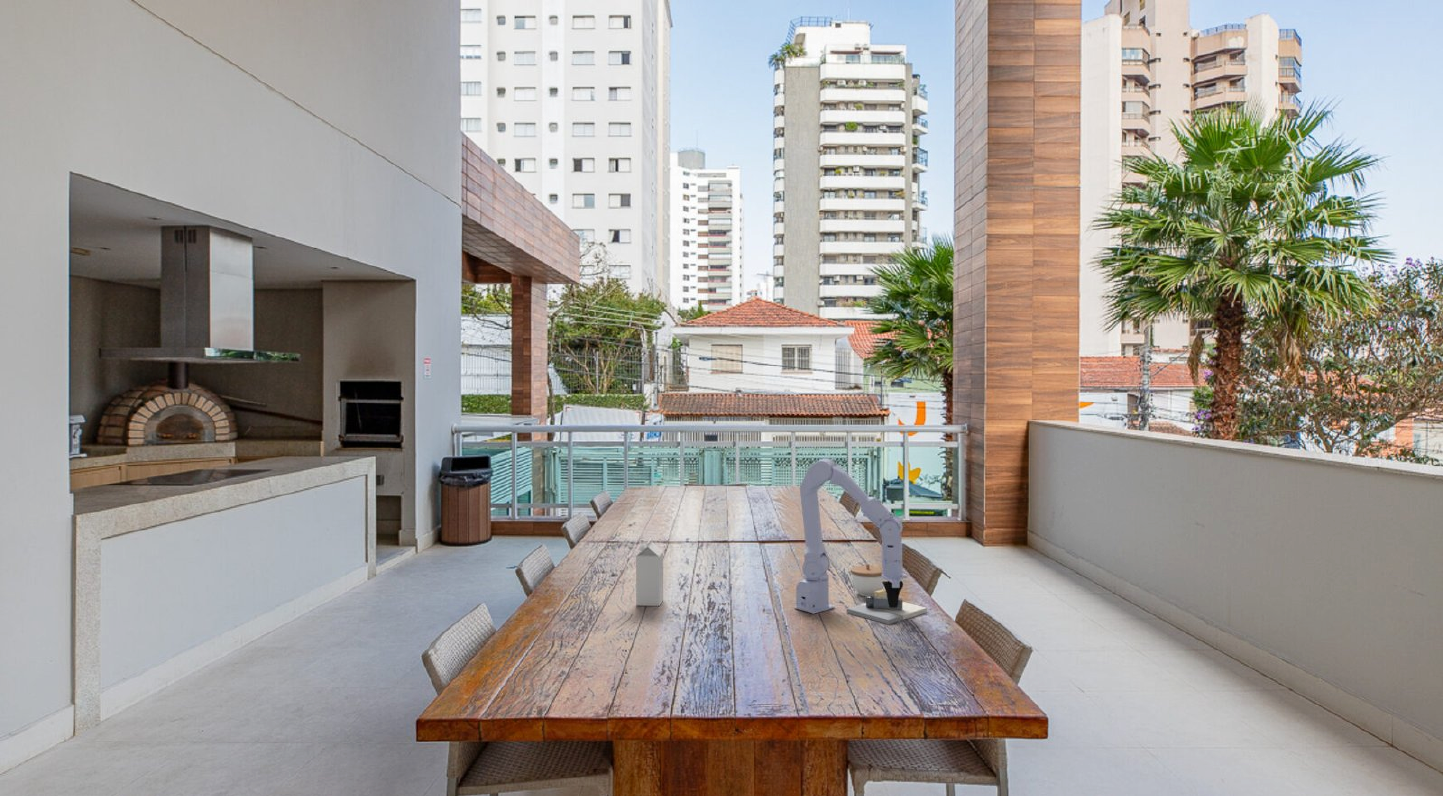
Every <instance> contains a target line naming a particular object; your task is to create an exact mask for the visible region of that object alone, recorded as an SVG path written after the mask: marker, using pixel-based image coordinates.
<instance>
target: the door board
mask: <svg viewBox="0 0 1443 796" xmlns="http://www.w3.org/2000/svg"><path fill="white" fill-rule="evenodd" d="M875 596H877V597H887V594H886V590H885V589H882V590H878V591H875ZM846 613H848V614H849V615H850V614H851V615H854V616H857V617H861V618H865V619H867V620H872V621H875V622H879V623H883V624H886V625H892V624H894V623H898V622H900V621H903V620H907V619H910V618H912V617H915V616H919V615H923V614H925V613H928V608H927V607H925V606H920V605H917V604H913V603H909V602H905V601H903V609H902V610H895V609H883V608H868V607H866V602H865V603H860V604H857V605H853V606H850V607H846Z"/></svg>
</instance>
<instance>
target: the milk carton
mask: <svg viewBox="0 0 1443 796" xmlns="http://www.w3.org/2000/svg"><path fill="white" fill-rule="evenodd" d="M638 549H639V551H640V552H639V553H637V554H636V555H635V600H636V601H635V605H636V606H642V607H643V606H645V607H646V606H647V607H648V606H649V607H650V606H651V607H660V606H661V604H662V603H663V601H664V551H663V549H660V547H658V546H657V545H656V544H655V543H654V542H653V538H650V540H648V542H646V545H645V543H643V544H642V545H641V546H639V547H638Z"/></svg>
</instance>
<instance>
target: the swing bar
mask: <svg viewBox="0 0 1443 796" xmlns="http://www.w3.org/2000/svg"><path fill="white" fill-rule="evenodd" d="M903 602H904V601H903V598H901V597H899V599H898V606H897V608H890V607H889V604H888V599H887V596H886V597H877V596H865V603H866V607H868V608H883V609H895V610H902V609H903Z"/></svg>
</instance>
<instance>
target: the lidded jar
mask: <svg viewBox="0 0 1443 796" xmlns="http://www.w3.org/2000/svg"><path fill="white" fill-rule="evenodd" d="M850 579H851V584H852V588H853V589H854V590H855V592H856V593H858V595H859V596H862V597H866V596H875V591H878V590H883V588H884V585H883V583H882V582H884V581H886V580H885V579H883V578H882V567H880V566H876V565H875V566H873V565H870V564H869V563H866V564H865V565H857V566H856V565H855V566H853V567H851V568H850Z"/></svg>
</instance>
